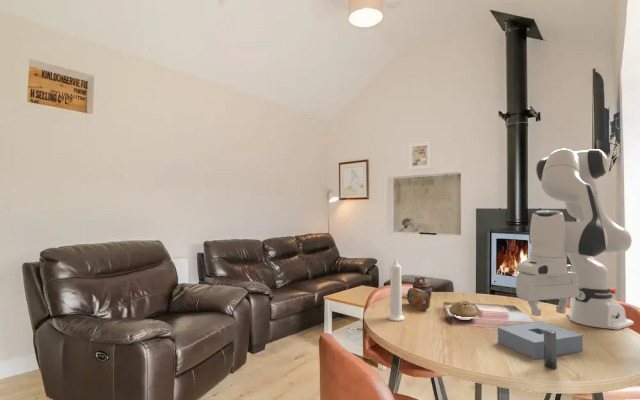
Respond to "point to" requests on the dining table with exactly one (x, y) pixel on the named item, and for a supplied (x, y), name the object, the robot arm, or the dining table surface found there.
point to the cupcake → (422, 285)
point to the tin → (418, 299)
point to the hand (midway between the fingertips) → (548, 314)
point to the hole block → (538, 339)
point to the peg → (550, 349)
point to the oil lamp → (463, 309)
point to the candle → (396, 292)
